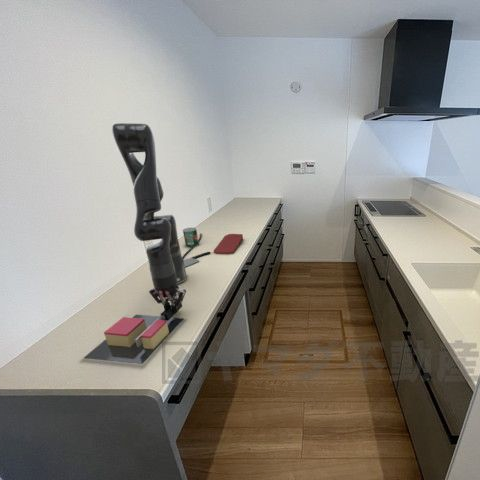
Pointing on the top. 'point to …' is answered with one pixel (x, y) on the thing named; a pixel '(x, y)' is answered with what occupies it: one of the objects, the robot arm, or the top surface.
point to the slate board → (133, 352)
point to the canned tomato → (190, 237)
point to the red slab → (228, 244)
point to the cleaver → (193, 259)
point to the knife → (164, 316)
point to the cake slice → (154, 334)
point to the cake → (125, 331)
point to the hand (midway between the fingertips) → (172, 311)
